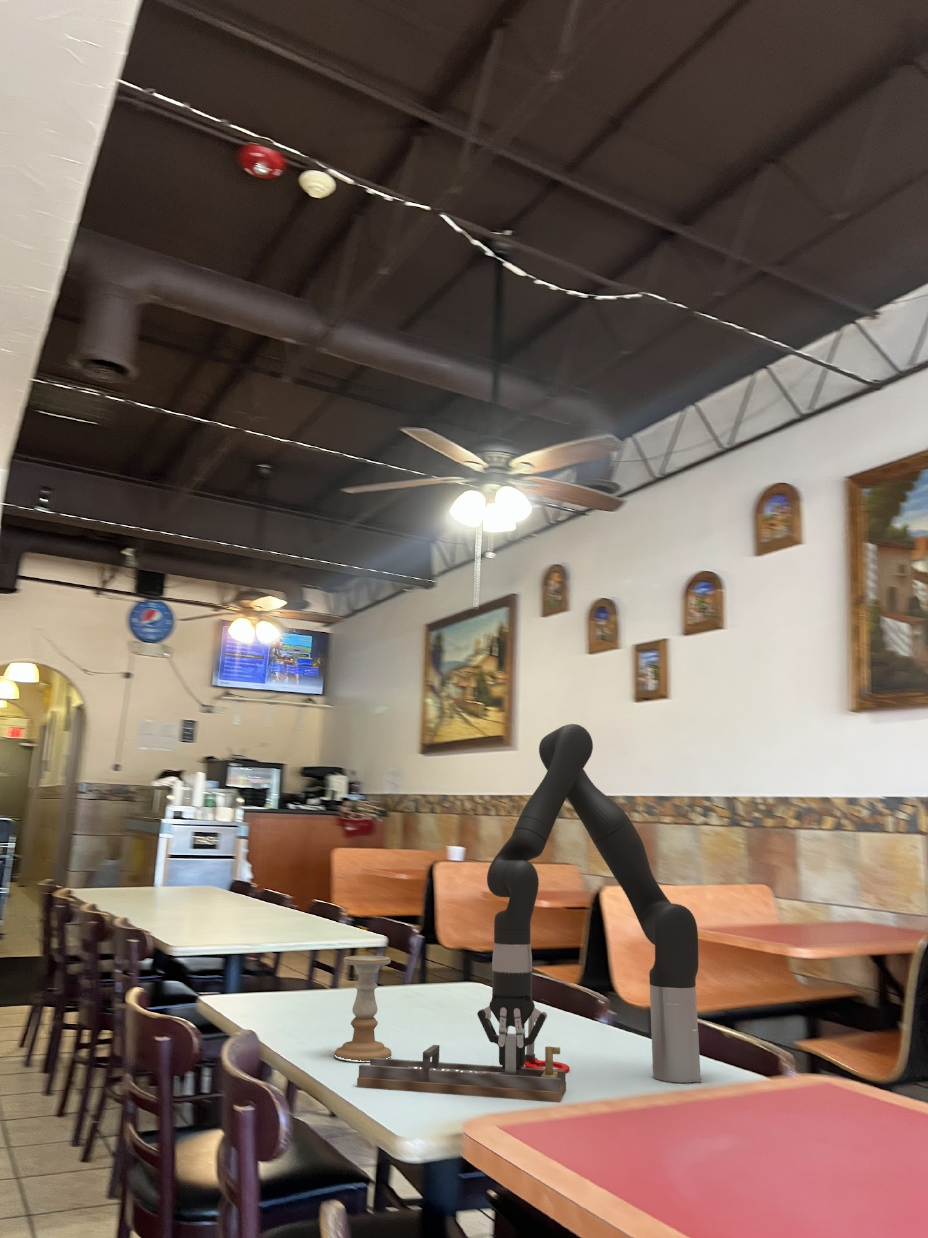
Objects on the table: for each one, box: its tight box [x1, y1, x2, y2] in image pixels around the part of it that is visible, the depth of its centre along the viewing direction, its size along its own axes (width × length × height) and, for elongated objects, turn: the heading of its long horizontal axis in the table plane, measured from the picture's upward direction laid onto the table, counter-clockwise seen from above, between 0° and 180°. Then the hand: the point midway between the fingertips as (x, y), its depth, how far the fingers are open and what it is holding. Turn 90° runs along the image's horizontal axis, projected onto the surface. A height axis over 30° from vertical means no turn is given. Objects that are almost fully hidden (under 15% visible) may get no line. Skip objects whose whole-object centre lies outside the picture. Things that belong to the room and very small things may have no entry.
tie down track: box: [356, 1044, 567, 1103], centre depth 167 cm, size 38×9×8 cm, turn 77°
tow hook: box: [522, 1001, 571, 1074], centre depth 185 cm, size 8×13×9 cm
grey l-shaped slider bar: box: [407, 1033, 519, 1075], centre depth 167 cm, size 21×3×8 cm, turn 77°
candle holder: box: [334, 955, 392, 1061], centre depth 195 cm, size 12×12×20 cm
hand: (511, 1068), depth 165 cm, fingers closed on grey l-shaped slider bar, 2 cm apart
